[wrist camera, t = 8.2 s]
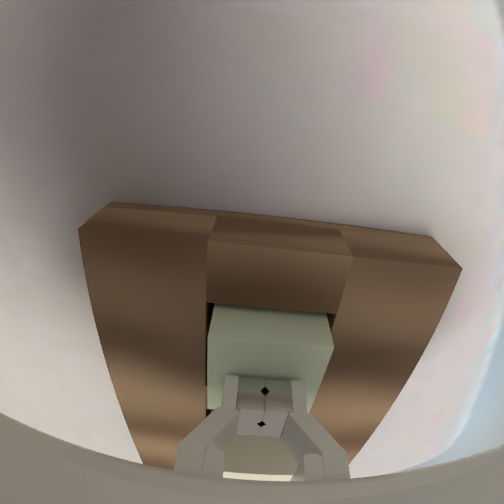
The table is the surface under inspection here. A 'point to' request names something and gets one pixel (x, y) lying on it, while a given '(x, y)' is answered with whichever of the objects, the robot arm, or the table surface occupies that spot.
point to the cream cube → (258, 459)
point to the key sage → (267, 347)
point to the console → (261, 296)
